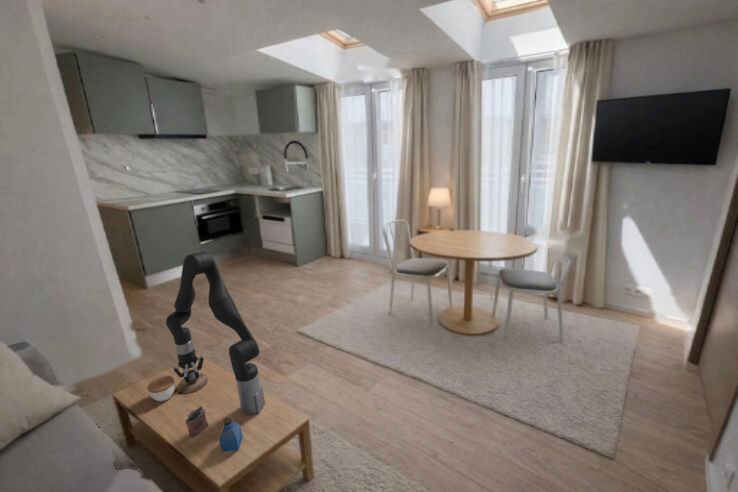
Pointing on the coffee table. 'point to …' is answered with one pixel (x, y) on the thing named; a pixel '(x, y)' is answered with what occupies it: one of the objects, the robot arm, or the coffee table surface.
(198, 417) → the lighter
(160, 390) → the lidded jar
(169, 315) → the robot arm
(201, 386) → the walnut lid
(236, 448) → the perfume bottle
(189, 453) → the coffee table surface
